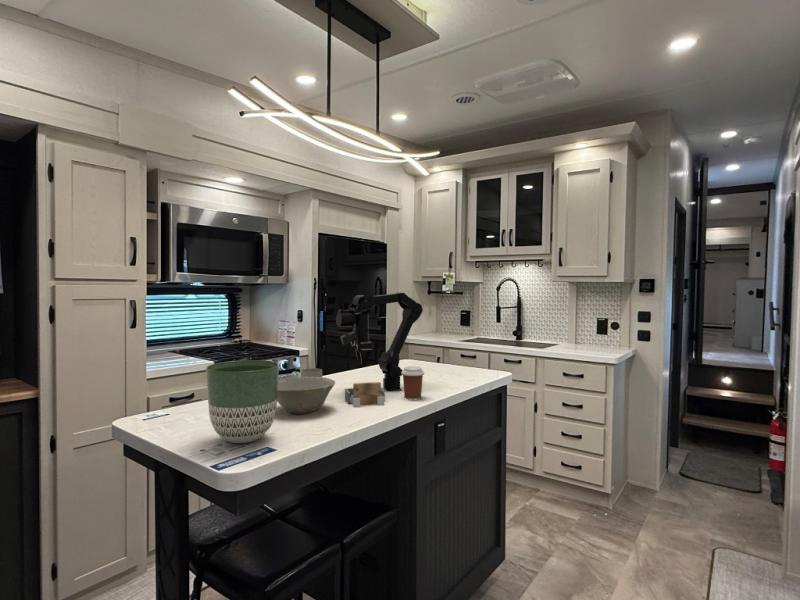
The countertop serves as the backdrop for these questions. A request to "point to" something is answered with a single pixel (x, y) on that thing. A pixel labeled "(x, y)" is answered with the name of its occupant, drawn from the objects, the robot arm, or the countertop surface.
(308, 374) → the cup
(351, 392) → the carcass
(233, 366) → the planter
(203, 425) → the countertop surface
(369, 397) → the door
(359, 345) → the robot arm
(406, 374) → the coffee cup
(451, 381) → the countertop surface
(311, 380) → the ceramic bowl
